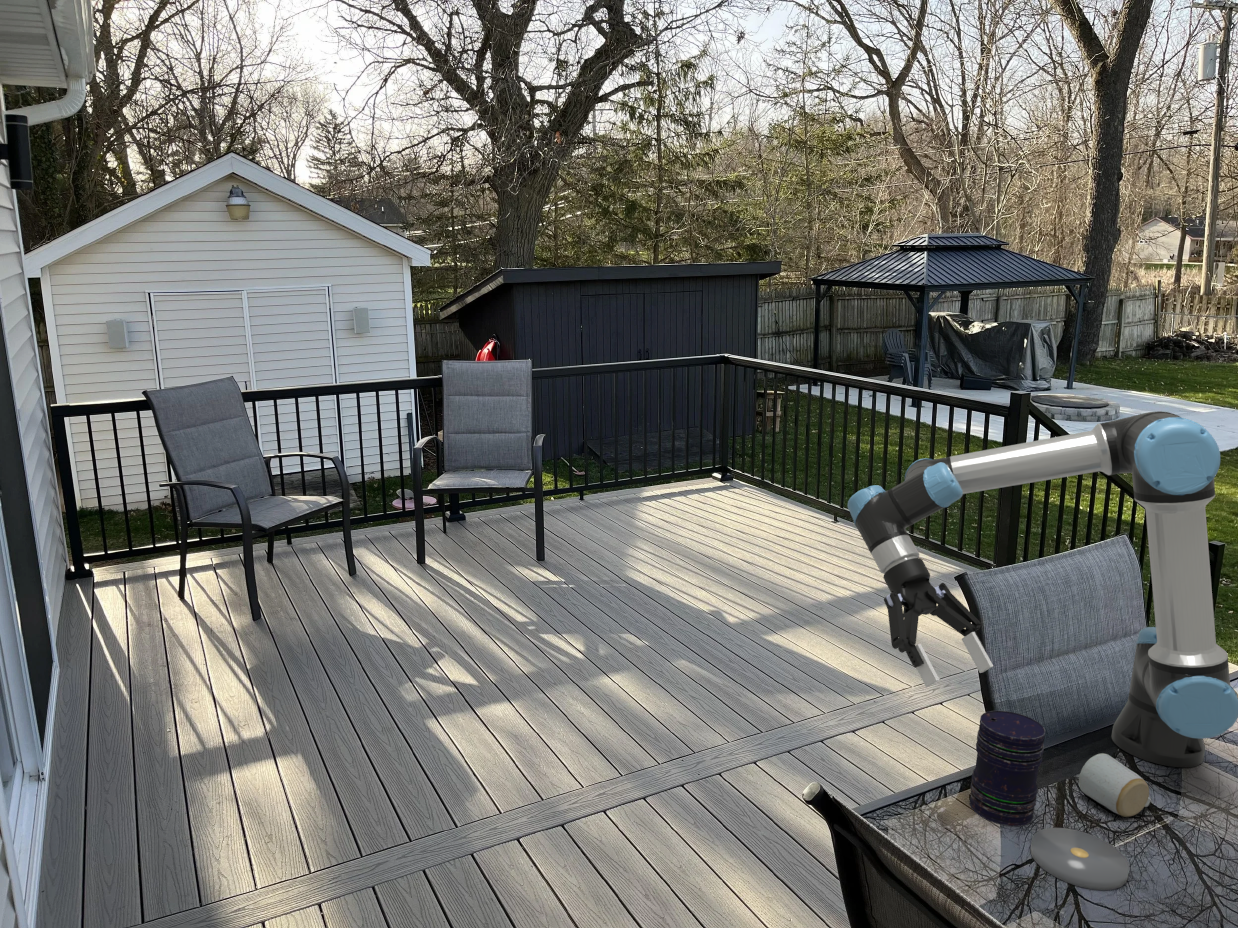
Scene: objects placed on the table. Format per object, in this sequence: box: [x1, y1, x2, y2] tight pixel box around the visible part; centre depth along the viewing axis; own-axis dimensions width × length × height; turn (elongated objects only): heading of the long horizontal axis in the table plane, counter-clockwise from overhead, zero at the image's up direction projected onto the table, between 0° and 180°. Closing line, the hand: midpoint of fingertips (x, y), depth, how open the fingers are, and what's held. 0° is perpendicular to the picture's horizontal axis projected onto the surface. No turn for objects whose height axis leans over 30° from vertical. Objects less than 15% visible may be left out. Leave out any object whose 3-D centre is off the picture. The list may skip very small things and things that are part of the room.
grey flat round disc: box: [1030, 827, 1130, 891], centre depth 136 cm, size 13×13×2 cm
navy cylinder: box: [969, 710, 1046, 828], centre depth 148 cm, size 10×10×15 cm
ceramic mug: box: [1078, 752, 1152, 818], centre depth 152 cm, size 11×8×8 cm
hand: (960, 676), depth 155 cm, fingers open, 13 cm apart
